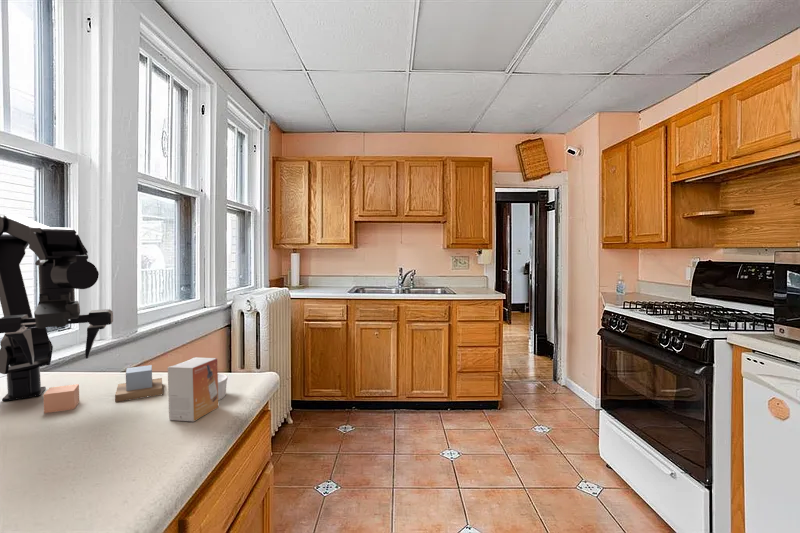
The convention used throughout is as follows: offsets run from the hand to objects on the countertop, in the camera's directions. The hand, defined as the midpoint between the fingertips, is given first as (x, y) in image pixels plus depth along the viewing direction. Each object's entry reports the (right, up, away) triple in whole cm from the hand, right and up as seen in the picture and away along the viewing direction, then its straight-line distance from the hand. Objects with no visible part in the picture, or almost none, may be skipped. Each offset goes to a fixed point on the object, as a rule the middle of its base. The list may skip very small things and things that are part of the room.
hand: (60, 361), depth 90 cm
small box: (+30, -10, -4) cm, 32 cm away
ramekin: (+29, -10, +5) cm, 31 cm away
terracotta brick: (0, -10, 0) cm, 10 cm away
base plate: (+11, -9, +9) cm, 17 cm away
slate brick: (+11, -8, +9) cm, 16 cm away
